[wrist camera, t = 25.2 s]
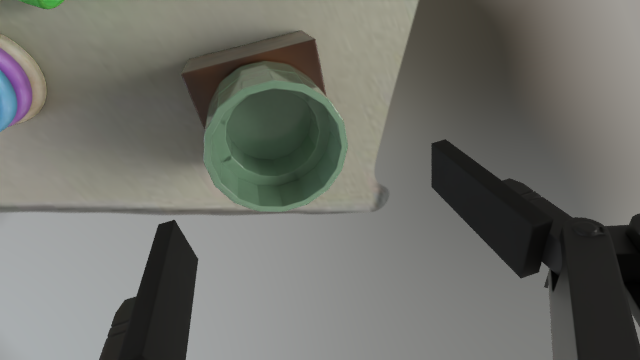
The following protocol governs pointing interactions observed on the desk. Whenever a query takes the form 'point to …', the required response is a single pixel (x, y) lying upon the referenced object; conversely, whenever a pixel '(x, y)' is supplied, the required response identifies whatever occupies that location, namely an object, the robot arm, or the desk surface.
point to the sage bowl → (272, 138)
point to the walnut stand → (217, 66)
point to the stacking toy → (19, 84)
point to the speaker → (43, 3)
